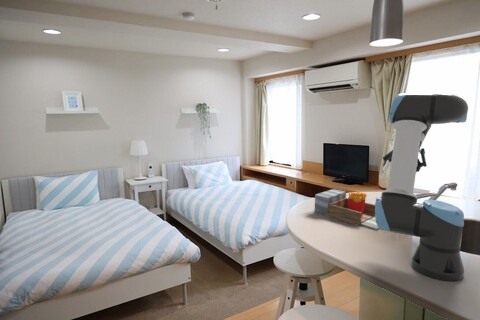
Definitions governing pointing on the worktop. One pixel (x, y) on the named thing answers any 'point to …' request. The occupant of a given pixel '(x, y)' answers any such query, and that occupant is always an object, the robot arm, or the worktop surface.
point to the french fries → (357, 201)
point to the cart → (344, 209)
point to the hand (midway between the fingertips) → (397, 173)
